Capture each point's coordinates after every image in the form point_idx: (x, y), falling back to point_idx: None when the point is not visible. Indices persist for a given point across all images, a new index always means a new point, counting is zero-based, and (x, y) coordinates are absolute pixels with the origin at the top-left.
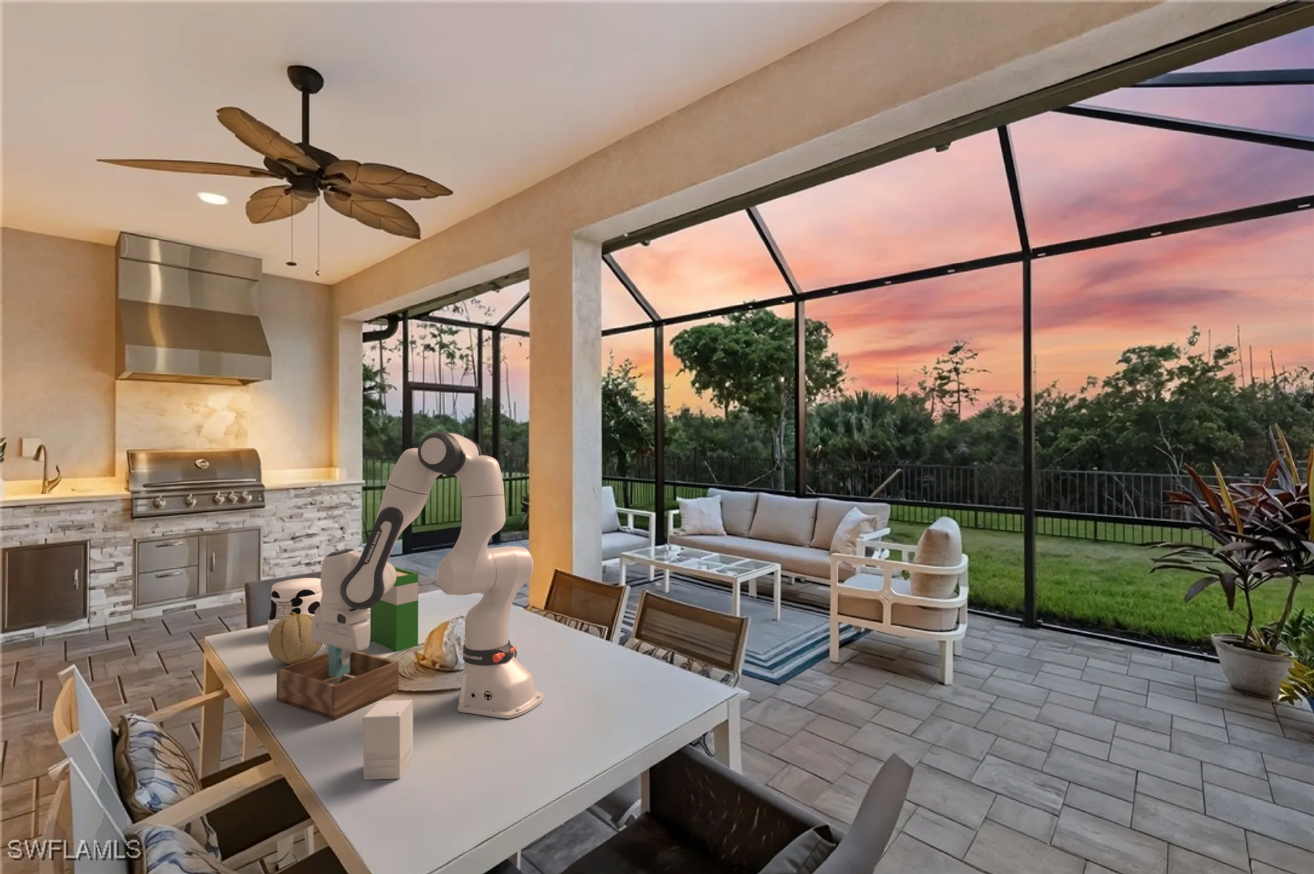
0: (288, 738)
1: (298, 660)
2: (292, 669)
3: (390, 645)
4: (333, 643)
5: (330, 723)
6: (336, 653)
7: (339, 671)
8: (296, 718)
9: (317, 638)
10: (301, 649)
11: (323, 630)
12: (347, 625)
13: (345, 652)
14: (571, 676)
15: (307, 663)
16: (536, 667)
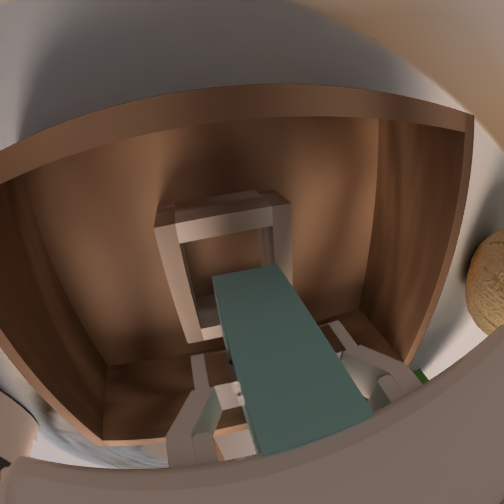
0: (26, 12)
1: (475, 258)
2: (445, 173)
3: (367, 398)
4: (319, 469)
5: (5, 139)
6: (247, 405)
7: (219, 313)
8: (146, 53)
9: (494, 362)
10: (490, 276)
11: (493, 455)
12: None
13: (166, 444)
14: (30, 456)
15: (436, 242)
16: (77, 465)
